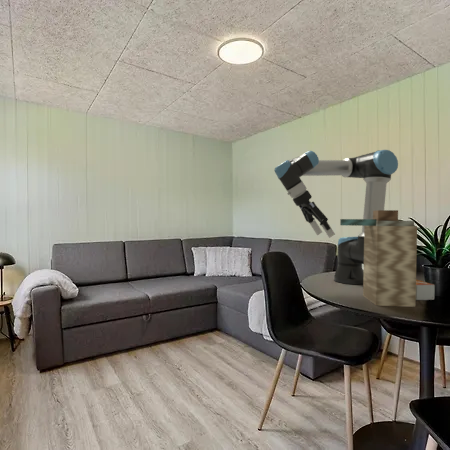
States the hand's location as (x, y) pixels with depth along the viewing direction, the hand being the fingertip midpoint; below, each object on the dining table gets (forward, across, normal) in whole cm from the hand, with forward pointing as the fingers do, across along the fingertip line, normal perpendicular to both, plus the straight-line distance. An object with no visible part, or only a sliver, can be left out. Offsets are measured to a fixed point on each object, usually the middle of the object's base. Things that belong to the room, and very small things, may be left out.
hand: (325, 234), depth 132 cm
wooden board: (+32, +14, +2) cm, 35 cm away
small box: (+38, +1, +17) cm, 42 cm away
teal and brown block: (+3, +12, +12) cm, 18 cm away
